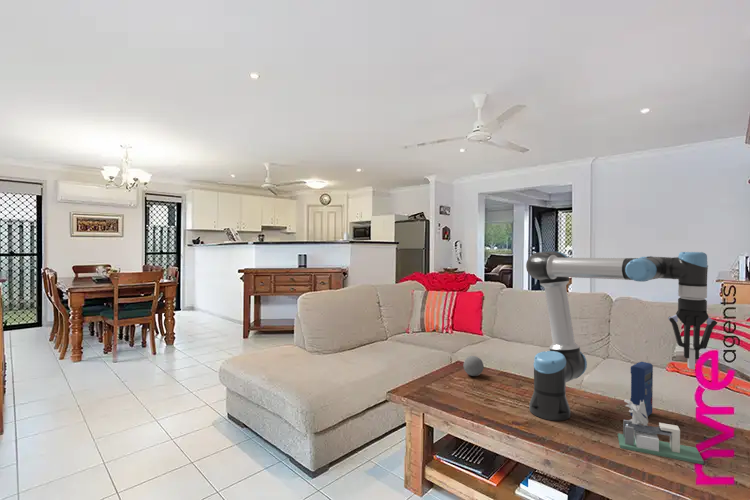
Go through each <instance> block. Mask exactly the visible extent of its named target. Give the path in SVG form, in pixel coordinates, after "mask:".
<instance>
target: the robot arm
mask: <svg viewBox="0 0 750 500" xmlns="http://www.w3.org/2000/svg"><path fill="white" fill-rule="evenodd" d="M525 268H526V271H527V273H528V275H529V276H530V277H531V278H532V279H535V280H539V285H540V286H542V287H543V289H544V294H545V299H546V301H545V302H546V307H547V314H548V322H549V327H550V335H551V341H552V343H551V344H550V346H549V350H546V351H540V352H537V353H536V354H535V356H534V358H533V360H534V361H533V392H532V393H533V394H532V395H531V399H530V401H529V406H528V407H529V408H528V409H529V412H530V413H531V414H532V415H534V416H535V417H538V418H540V419H544V420H548V421H558V422H559V421H565V420H569V419H570V418H571V407H570V405H569V401H568V398H567V396H566V390H567V389H566V385H567V384H566V383H567V382H570V381H573V380H574V379H578V378H579V377H581V376H583V374H585V372H586V370H587V368H588V360H587V358H586V356H585V354H584V353H582V351H581V349H580V345H578V344H577V343H576V342H575V336H574V329H573V322H572V317H571V316H572V315H571V310H570V303H569V297H568V292H567V285H568V284H569V282H570V278H578V279H603V280H625V281H626V280H627V281H634V282H638V283H639V282H648V281H651V280H656V279H665V280H666V279H667V280H678V290H677V291H678V293H677V296H678V297H679V298H678V299H677V311H676V313H675V314H674V315H672V316H668V318H667V319H668V320H669V322H670V323H671V326H672V329H673V330H672V331H673V333H674V336H675V340H676V344H677V345H678V346H679V347H682V348H683V356H684V358H685V359H687V368H688V369H689V370H694V371H695V369H696V360H699V359H700V351H701V350H703V349H707V346H708V343H709V340H710V338H711V336H712V332H713V329H714V328H715V326H717V324H718V322H717V321H716V320H715V319H712V318H711V317H710V316H709V314H708V311H707V310H708V300H707V298H708V271H709V270H708V269H709V265H708V254H707V253H705V252H703V251H701V252H700V251H680V252H679V253H678V256H676V257H675V256H674V257H669V256H667V257H666V256H664V257H663V256H652V255H650V256H640V257H639V258H638V257H634V258H632V257H628V258H627V257H569V256H568V255H566V254H565V253H563V252H561V251H554V250H553V251H552V250H551V251H544V252H543V251H542V252H541V251H540V252H534V253H533V254H531V255H530V256H529V257H528V258H527V260H526V264H525ZM678 319H679V320H678ZM678 321H680V322H681V323H682V324H683V340H682V335H681V331H680V330H679V325H678ZM704 323H706V326H705V329H704V332H703V334H702V338H701V336H700V335H701V334H700V333H701V326H702V325H703V324H704ZM691 327H692V328H693V330H692V331H693V332H692V333H693V334H692V335H693V336H692V339H693V340H692V346H693V347H690V346H691V345H690V344H691V329H692V328H691Z"/></svg>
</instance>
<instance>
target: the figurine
mask: <svg viewBox="0 0 750 500" xmlns="http://www.w3.org/2000/svg"><path fill="white" fill-rule="evenodd" d="M623 402H624V403H625V405H624V406H625V408H626V407H627V408H629V410H628V412H629V414H630V413H633V416H631V417H632V418H631V419H628V420H629V421H632V424H639V425H646V426H649V425H648V423H649V418H648V417H649V416H647V413H646V408H645V404H644V400H643V402H641V400H640V406H639V405H637V406H636V404H633V402H632V401H631V400H630V399H628V398H626V399H624V400H623ZM626 403H627V404H626ZM641 413H642V414H644V415H645V416H646V418H645V417H644V416H643V415H642V414H641Z"/></svg>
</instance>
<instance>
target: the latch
mask: <svg viewBox="0 0 750 500" xmlns="http://www.w3.org/2000/svg"><path fill="white" fill-rule="evenodd" d="M658 427H660V429H661V430H664V431H670V432H671V436H669V443H670V448H671V450H672V452H677V453H680V445H681V430H680V428H679V426H678V425H675V424H668V423H664V422H658Z"/></svg>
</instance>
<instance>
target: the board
mask: <svg viewBox="0 0 750 500" xmlns="http://www.w3.org/2000/svg"><path fill="white" fill-rule="evenodd" d="M629 420H630V419H623V429H622V430H623V433H619V432H618V433H617V439H618V443H619V444H618V445H619V448H620V449H623V450H629V451H633V452H638V453H643V454H648V455H653V456H658V457H663V458H668V459H674V460H678V461H683V462H689V463H693V464H697V465H698V464H699V465H704V464H705V461H704V458H702V455H701V454H700V451H699V450H698V448H697V447H694V446H690V445H683V444H680V453H677V452H672V450H671V448H670V442H668V441H662V440H660V439H659V436H658V434H655V433H648V432H642V431H635V430H634V427H629V426H625V422H630V423H632V421H629Z"/></svg>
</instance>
